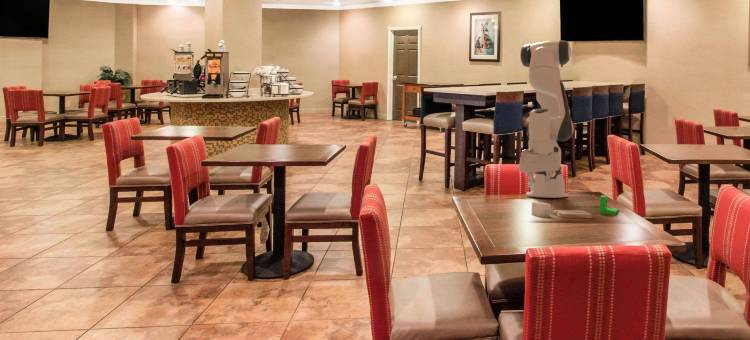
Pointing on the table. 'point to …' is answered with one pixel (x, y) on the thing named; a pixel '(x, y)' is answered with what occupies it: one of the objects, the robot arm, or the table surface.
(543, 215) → the connector
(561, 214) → the birch board
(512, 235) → the table surface
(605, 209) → the mechanical part
